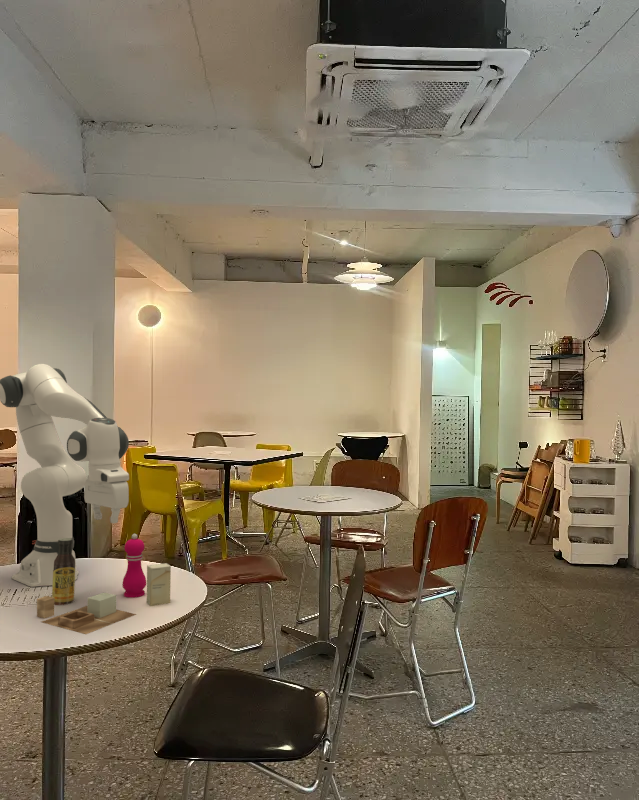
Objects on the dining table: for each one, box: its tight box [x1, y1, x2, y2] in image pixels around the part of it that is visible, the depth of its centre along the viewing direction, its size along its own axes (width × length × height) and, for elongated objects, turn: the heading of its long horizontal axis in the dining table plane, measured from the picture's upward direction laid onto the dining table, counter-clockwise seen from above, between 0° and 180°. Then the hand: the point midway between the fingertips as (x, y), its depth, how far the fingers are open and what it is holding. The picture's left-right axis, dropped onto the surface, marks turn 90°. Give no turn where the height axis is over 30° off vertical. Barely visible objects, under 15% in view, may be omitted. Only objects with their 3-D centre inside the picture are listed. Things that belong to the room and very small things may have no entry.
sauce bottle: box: [51, 538, 76, 606], centre depth 199 cm, size 6×6×20 cm
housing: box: [86, 592, 117, 618], centre depth 189 cm, size 5×6×5 cm
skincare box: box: [146, 562, 172, 607], centre depth 199 cm, size 6×4×12 cm
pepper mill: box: [121, 533, 147, 599], centre depth 206 cm, size 7×7×20 cm
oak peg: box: [36, 595, 55, 620], centre depth 186 cm, size 3×3×6 cm
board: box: [41, 605, 137, 635], centre depth 185 cm, size 18×18×4 cm
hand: (106, 521), depth 192 cm, fingers open, 8 cm apart
